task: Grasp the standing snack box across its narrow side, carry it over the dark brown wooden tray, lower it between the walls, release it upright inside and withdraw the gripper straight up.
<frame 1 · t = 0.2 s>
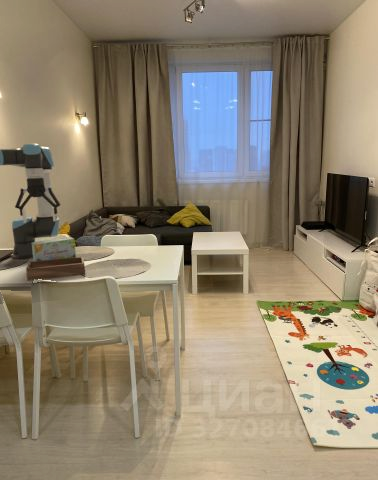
hand: (39, 221, 178), 28 cm above the table, fingers open, 13 cm apart
dark brown wooden tray: (57, 273, 188), on the table
snack box: (56, 267, 199), on the table
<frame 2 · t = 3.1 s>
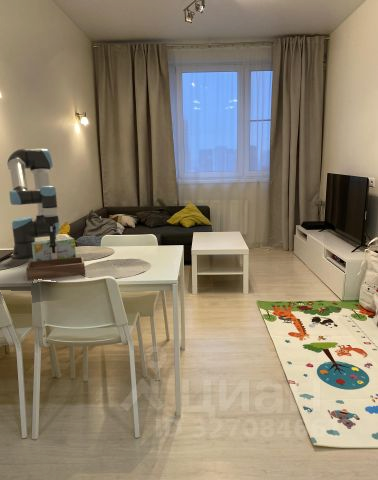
hand: (54, 256, 198), 6 cm above the table, fingers open, 10 cm apart
nothing on the table moved.
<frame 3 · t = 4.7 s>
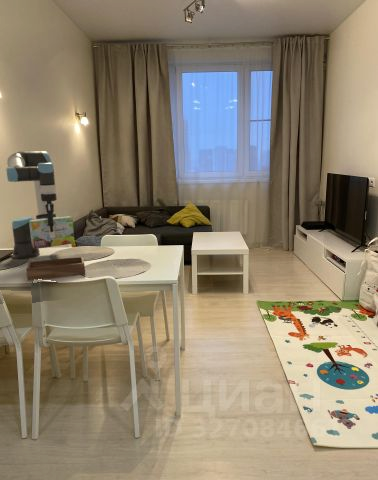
hand: (52, 236, 196), 17 cm above the table, fingers closed on snack box, 7 cm apart
snack box: (53, 246, 197), point 12 cm above the table, touching gripper
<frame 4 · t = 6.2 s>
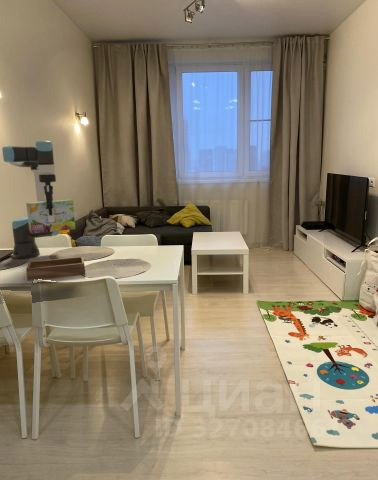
hand: (51, 220, 182), 27 cm above the table, fingers closed on snack box, 7 cm apart
snack box: (53, 231, 183), point 22 cm above the table, touching gripper
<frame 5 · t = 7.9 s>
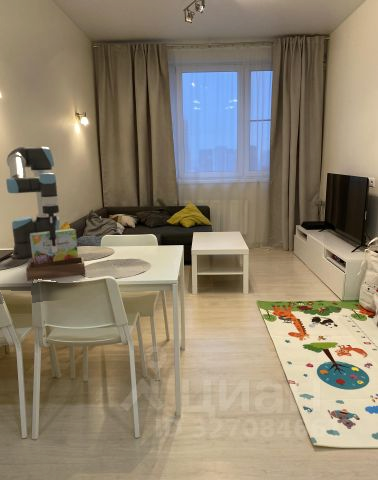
hand: (55, 250, 185), 12 cm above the table, fingers closed on snack box, 7 cm apart
snack box: (56, 260, 186), point 7 cm above the table, touching gripper
when the fingers open (6 cm above the table, at t = 9.1 s): snack box stays where it is, resting on dark brown wooden tray.
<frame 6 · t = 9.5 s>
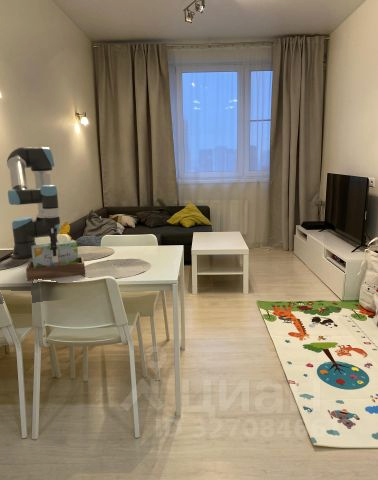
hand: (55, 259, 186), 8 cm above the table, fingers open, 11 cm apart
snack box: (57, 272, 187), point 1 cm above the table, touching dark brown wooden tray
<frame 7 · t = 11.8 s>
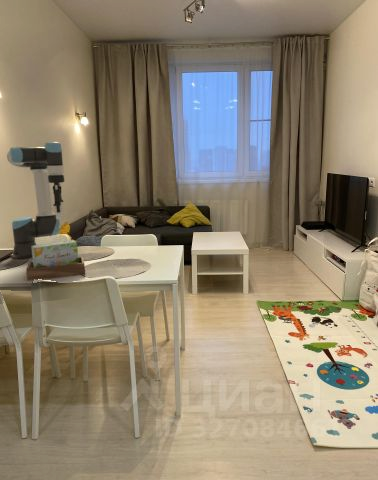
hand: (59, 216, 186), 29 cm above the table, fingers open, 13 cm apart
nothing on the table moved.
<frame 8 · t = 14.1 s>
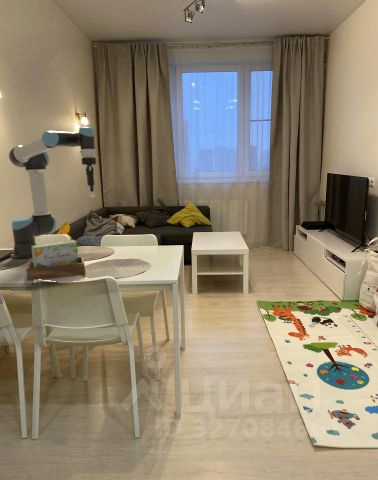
hand: (91, 196, 203), 37 cm above the table, fingers open, 13 cm apart
nothing on the table moved.
at the end: snack box inside the target area on the dark brown wooden tray (0.1 cm from its centre), point 0.6 cm above the dark brown wooden tray's base; snack box tilted 0°; the gripper is holding nothing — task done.
